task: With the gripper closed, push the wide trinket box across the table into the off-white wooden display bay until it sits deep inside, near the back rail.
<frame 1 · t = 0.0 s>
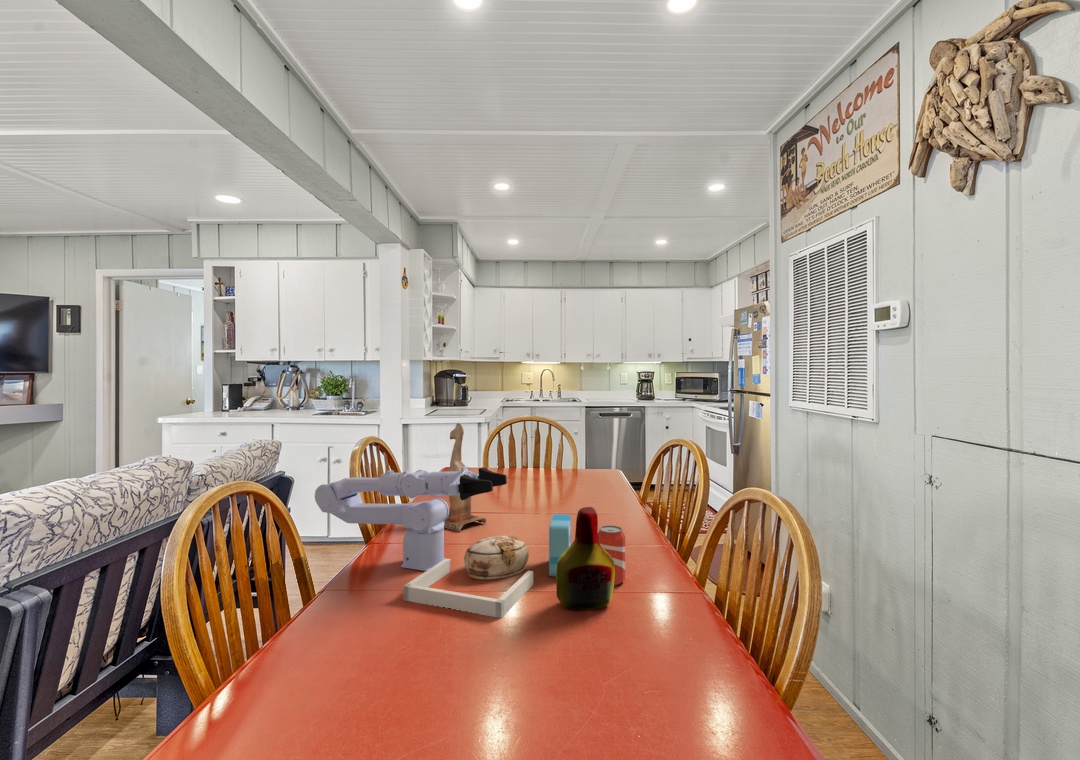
hand: (499, 482, 121), 22 cm above the table, tool horizontal, fingers open, 7 cm apart
bottle: (585, 607, 105), on the table
beverage can: (610, 582, 118), on the table
display bay: (469, 593, 111), on the table
bird sculpture: (461, 526, 161), on the table
trinket box: (497, 571, 124), on the table
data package: (560, 569, 125), on the table
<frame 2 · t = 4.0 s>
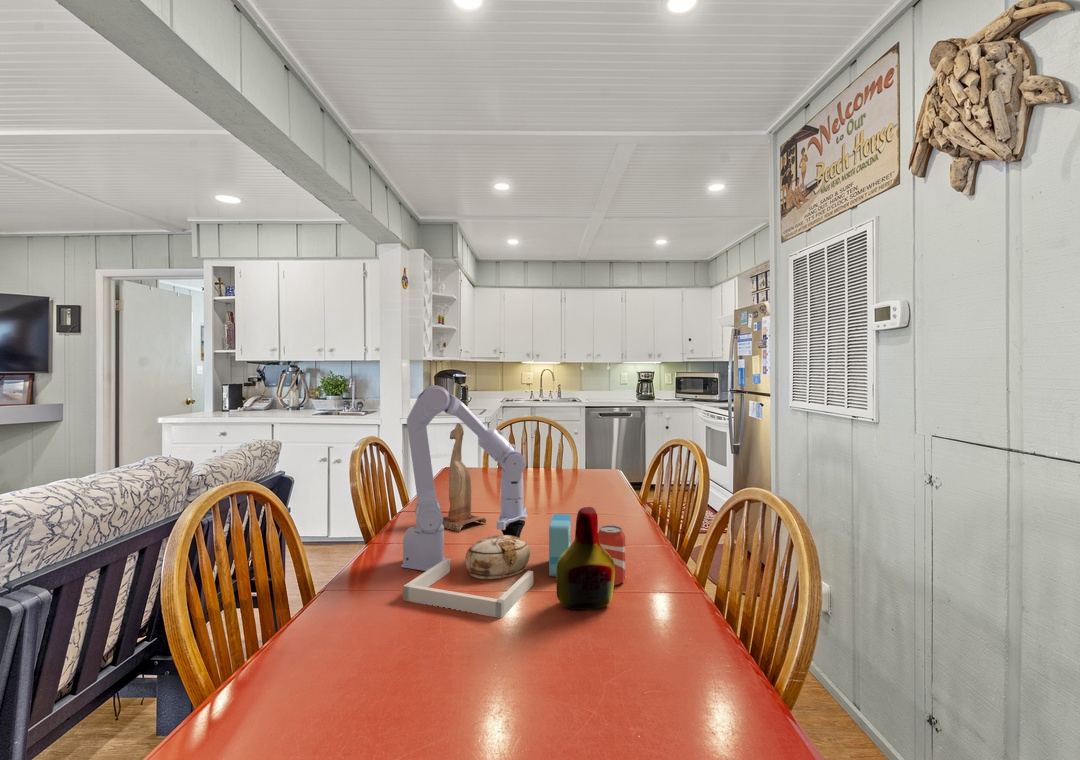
hand: (512, 549, 133), 2 cm above the table, tool pointing down, fingers closed
trinket box: (498, 571, 125), on the table, touching gripper
everything else where it was.
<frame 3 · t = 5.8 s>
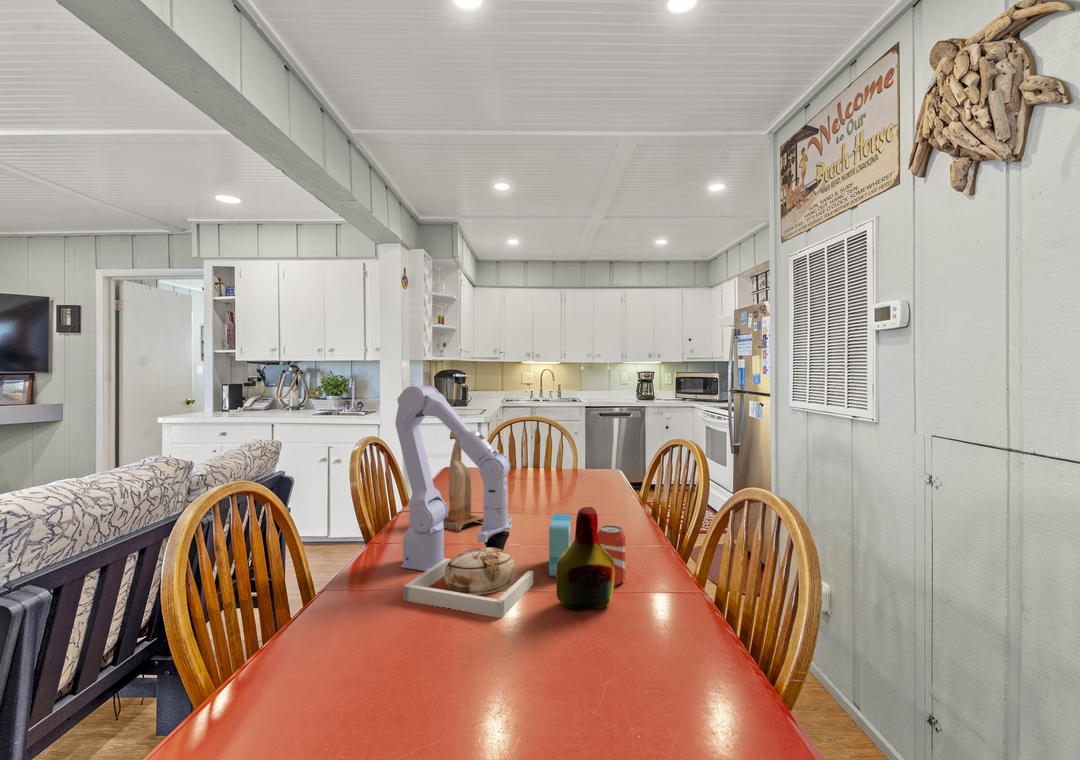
hand: (495, 563, 124), 2 cm above the table, tool pointing down, fingers closed
trinket box: (480, 586, 116), on the table, touching gripper
everything else where it was.
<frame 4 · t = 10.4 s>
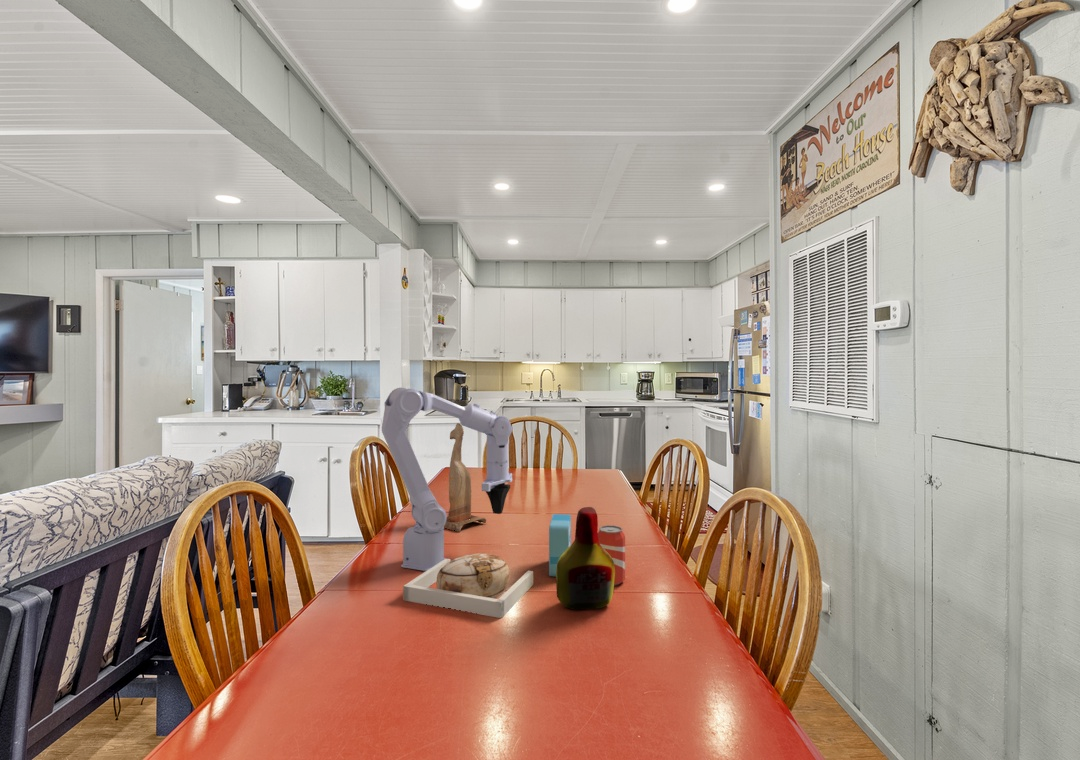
hand: (497, 513, 136), 10 cm above the table, tool pointing down, fingers closed
trinket box: (473, 593, 112), on the table
everything else where it was.
at the end: trinket box inside the target area (0.7 cm from its centre), on the table; trinket box tilted 0°; trinket box moved 13.0 cm from its start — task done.
